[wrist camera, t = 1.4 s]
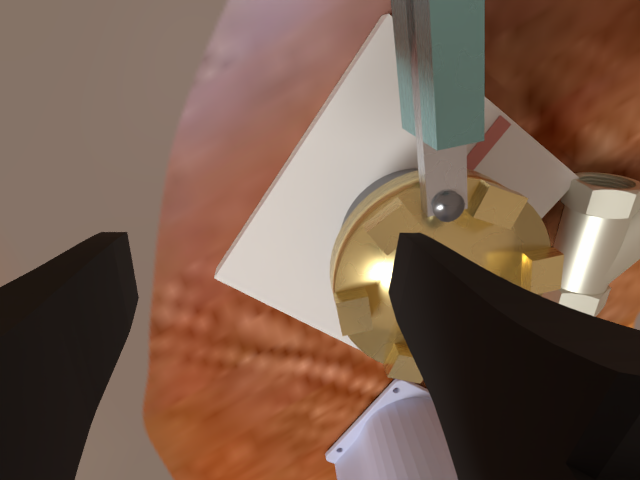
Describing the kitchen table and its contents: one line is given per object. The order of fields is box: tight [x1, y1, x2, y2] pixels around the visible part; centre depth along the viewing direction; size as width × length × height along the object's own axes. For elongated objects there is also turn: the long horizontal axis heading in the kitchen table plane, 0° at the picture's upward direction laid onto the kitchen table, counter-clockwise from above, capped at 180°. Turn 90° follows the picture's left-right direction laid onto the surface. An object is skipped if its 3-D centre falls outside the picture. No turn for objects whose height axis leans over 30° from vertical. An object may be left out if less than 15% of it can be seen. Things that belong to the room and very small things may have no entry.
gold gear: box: [329, 0, 564, 384], centre depth 17 cm, size 18×10×4 cm, turn 10°
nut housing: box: [214, 14, 579, 350], centre depth 22 cm, size 16×14×4 cm
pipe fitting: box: [542, 172, 640, 317], centre depth 24 cm, size 8×4×7 cm
